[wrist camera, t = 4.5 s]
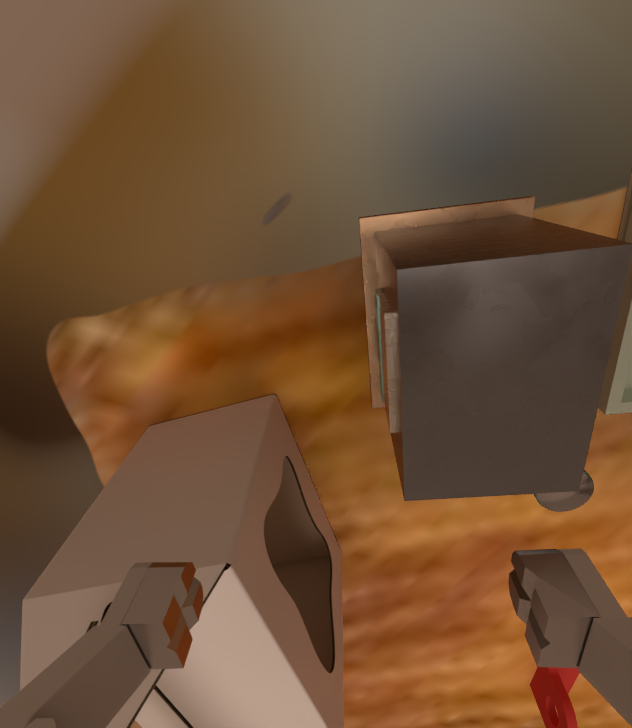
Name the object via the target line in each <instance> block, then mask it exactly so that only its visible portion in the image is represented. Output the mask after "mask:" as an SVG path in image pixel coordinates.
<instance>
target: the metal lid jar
mask: <svg viewBox="0 0 632 728" xmlns="http://www.w3.org/2000/svg"><path fill="white" fill-rule="evenodd" d="M593 490H594V484H593V480H592V478H591V477H590V476H589V475H588V473H587V472H586V471H585V470H584V472H583V476H582V481H581V485H580V490H579V491H573V492H555V493H537V494H534V496H535V497H536V499H537V501H538V502H539V503H540V505H542V506H543V507H545V508H547V509H549V510H552V511H558V512H562V511H569V510H573V509H576V508H578V507H580V506H581V505H583V504H584V503H586V502H587V501H588V500H589V499H590V497H591V495H592V494H593Z"/></svg>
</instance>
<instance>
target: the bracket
mask: <svg viewBox="0 0 632 728" xmlns="http://www.w3.org/2000/svg"><path fill="white" fill-rule="evenodd" d="M579 673H580V672H579V671H578V668H556V667H538V668H537V670H536V672H535V675H534V677H533V679H532V681H531V683H530V686H531V689H532V692H533V694H534V697H535V700H536V702H537V705H538V708H539V710H540V713H541V716H542V718H543V721H544V724H545V726H546V728H578V727H577V721H576V716H575V713H574V709H573V706H572V703H571V701H570V698H569V696H568V693H569V691H570V690H571V688H572V686H573V684H574V682H575V680H576V678H577V676H578V675H579ZM555 706H556V709H557V713H558V716H557V713H556V709H555Z"/></svg>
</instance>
